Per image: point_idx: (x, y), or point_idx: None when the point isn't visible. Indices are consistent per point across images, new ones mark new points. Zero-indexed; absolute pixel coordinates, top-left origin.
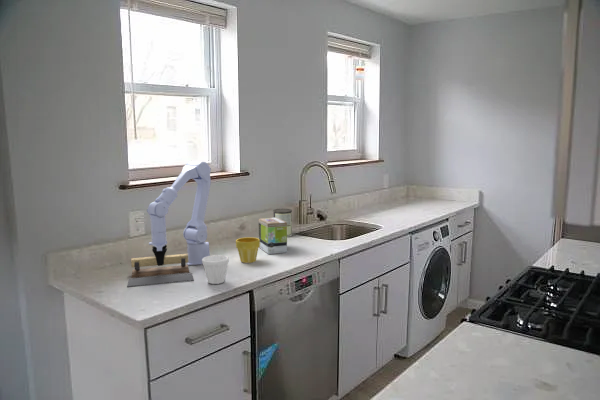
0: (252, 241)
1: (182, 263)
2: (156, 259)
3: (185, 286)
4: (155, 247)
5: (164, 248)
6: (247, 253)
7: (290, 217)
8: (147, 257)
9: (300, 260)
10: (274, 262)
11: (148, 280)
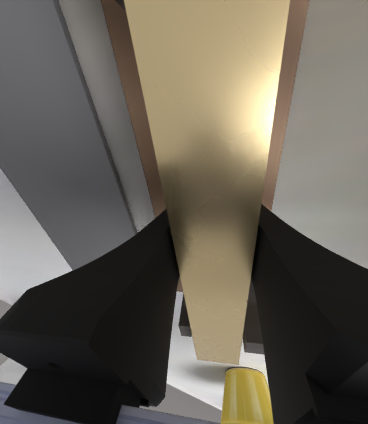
0: None
1: (182, 303)
2: (144, 228)
3: (30, 262)
4: (323, 369)
5: (271, 379)
6: (223, 405)
7: None
8: (235, 122)
9: (213, 399)
10: (214, 385)
11: (35, 136)
